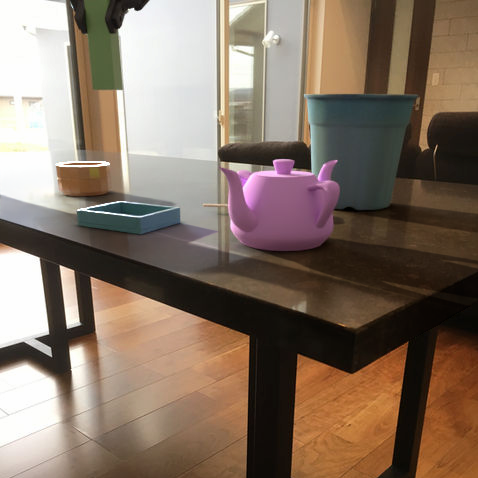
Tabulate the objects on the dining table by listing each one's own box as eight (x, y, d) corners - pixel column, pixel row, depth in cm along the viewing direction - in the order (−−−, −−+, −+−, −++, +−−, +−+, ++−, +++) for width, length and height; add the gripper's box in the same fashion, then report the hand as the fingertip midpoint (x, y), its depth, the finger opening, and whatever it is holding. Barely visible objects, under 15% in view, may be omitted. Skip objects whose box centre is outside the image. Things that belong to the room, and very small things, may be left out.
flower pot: (418, 214, 74) (434, 92, 68) (303, 213, 75) (310, 91, 69) (390, 197, 89) (401, 95, 83) (295, 196, 90) (299, 95, 84)
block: (92, 89, 67) (82, -11, 62) (101, 90, 69) (92, -6, 65) (114, 89, 66) (106, -11, 62) (123, 90, 69) (115, -6, 65)
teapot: (219, 253, 53) (218, 164, 50) (238, 226, 66) (238, 154, 63) (336, 257, 52) (343, 166, 49) (332, 229, 65) (337, 155, 61)
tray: (77, 225, 66) (76, 209, 65) (121, 215, 73) (120, 200, 72) (140, 234, 62) (139, 217, 61) (180, 222, 68) (180, 207, 67)
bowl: (48, 194, 91) (44, 164, 89) (85, 188, 98) (82, 160, 96) (86, 198, 87) (83, 167, 85) (122, 191, 94) (120, 163, 92)
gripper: (63, -91, 67) (27, -1, 61) (167, -97, 65) (142, -4, 59) (85, -32, 74) (55, 55, 68) (180, -36, 72) (159, 53, 66)
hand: (96, 27), depth 63 cm, fingers closed on block, 3 cm apart
